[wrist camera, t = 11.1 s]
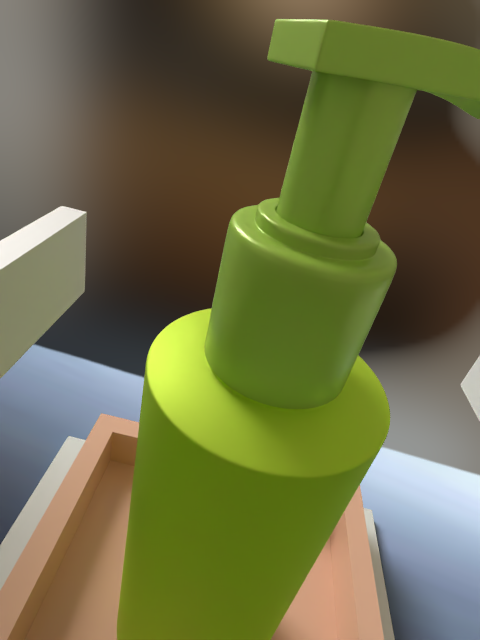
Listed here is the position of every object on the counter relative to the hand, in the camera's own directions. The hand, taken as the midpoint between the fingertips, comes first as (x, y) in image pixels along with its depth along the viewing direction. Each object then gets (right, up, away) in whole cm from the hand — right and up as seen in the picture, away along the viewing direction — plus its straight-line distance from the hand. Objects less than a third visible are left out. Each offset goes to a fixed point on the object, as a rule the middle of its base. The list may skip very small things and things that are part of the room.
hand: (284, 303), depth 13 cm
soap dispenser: (-3, -13, +4) cm, 14 cm away
